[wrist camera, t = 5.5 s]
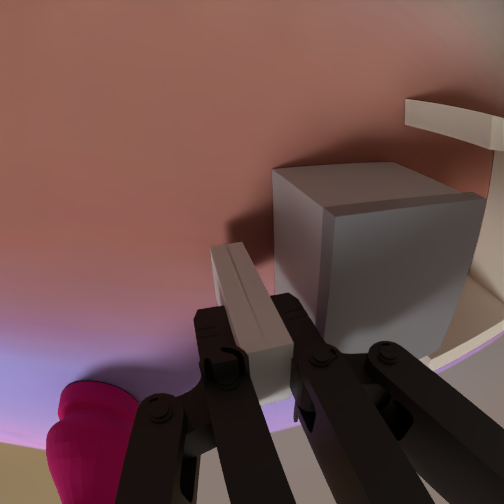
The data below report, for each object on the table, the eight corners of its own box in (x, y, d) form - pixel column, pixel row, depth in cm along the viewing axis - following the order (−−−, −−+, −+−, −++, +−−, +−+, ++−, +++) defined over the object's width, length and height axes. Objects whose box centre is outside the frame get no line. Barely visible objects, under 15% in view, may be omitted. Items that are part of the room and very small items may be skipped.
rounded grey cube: (267, 165, 14) (335, 217, 8) (395, 158, 16) (486, 199, 10) (271, 310, 18) (314, 397, 13) (378, 285, 20) (438, 349, 14)
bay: (405, 98, 14) (492, 115, 9) (506, 119, 16) (567, 140, 11) (377, 319, 21) (423, 375, 16) (473, 284, 23) (515, 321, 18)
